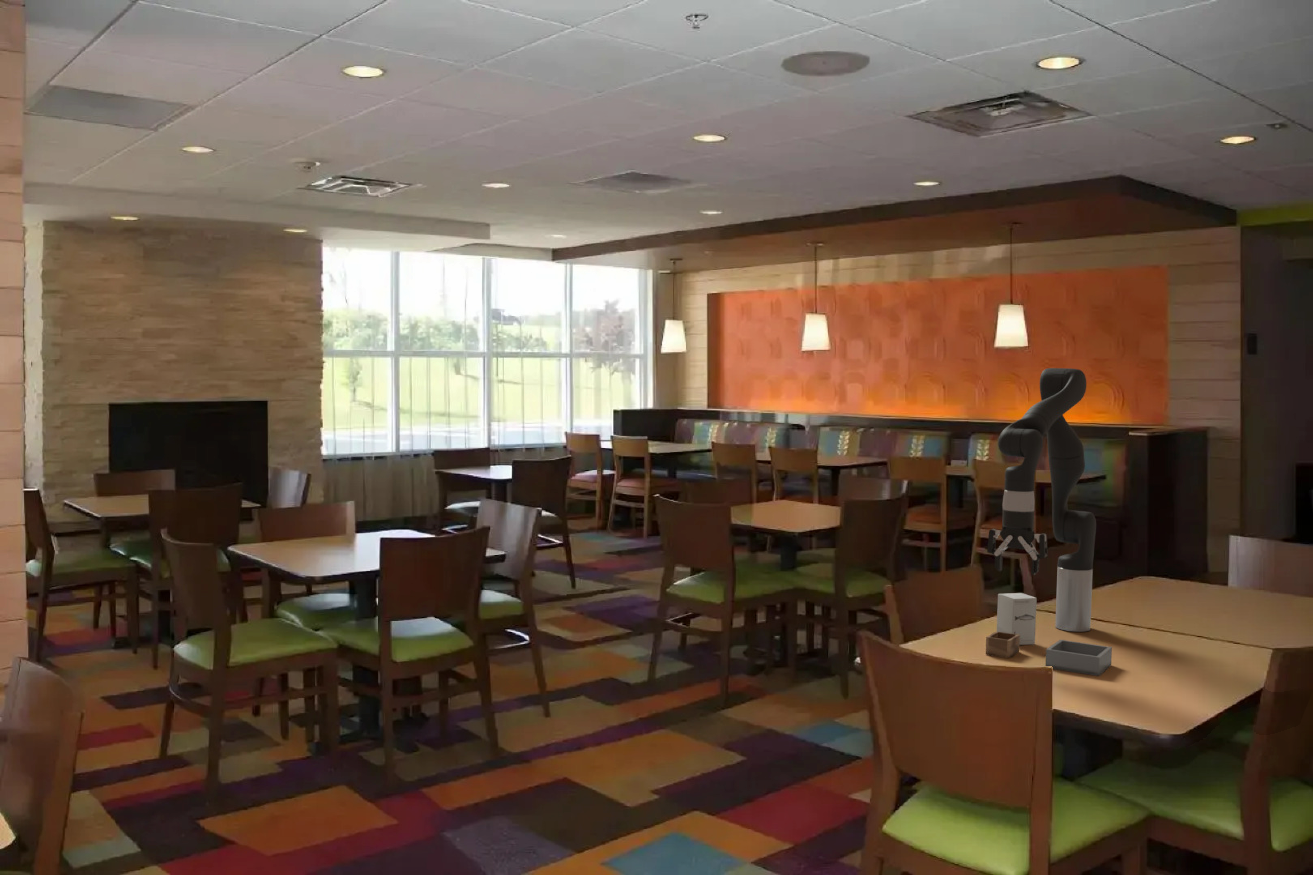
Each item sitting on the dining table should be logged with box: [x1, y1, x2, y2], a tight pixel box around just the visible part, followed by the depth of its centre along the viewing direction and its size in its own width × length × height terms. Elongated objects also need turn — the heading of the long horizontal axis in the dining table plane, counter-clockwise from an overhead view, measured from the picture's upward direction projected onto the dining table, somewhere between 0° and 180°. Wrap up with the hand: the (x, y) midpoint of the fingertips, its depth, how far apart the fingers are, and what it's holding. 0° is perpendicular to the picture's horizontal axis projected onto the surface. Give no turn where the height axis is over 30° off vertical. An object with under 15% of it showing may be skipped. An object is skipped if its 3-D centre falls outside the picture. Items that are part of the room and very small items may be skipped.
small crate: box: [985, 630, 1020, 659], centre depth 284 cm, size 8×6×4 cm
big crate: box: [1044, 639, 1113, 677], centre depth 272 cm, size 12×12×4 cm
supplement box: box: [996, 592, 1038, 646], centre depth 296 cm, size 7×7×13 cm
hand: (1016, 572), depth 279 cm, fingers open, 8 cm apart
